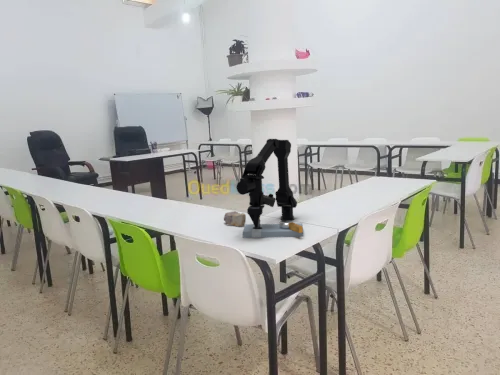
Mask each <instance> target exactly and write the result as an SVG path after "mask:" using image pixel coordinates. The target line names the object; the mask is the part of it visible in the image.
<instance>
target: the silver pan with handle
mask: <svg viewBox="0 0 500 375" xmlns="http://www.w3.org/2000/svg"><path fill="white" fill-rule="evenodd" d="M295 223H296V222H294V220H284V219H283V220H280V221H279V223H278V224H279V227H280V228H283V229H291V230H293V231H295V232H298V233H302V232H303V233H304V227H303V226H300V225H298V224H295Z"/></svg>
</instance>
